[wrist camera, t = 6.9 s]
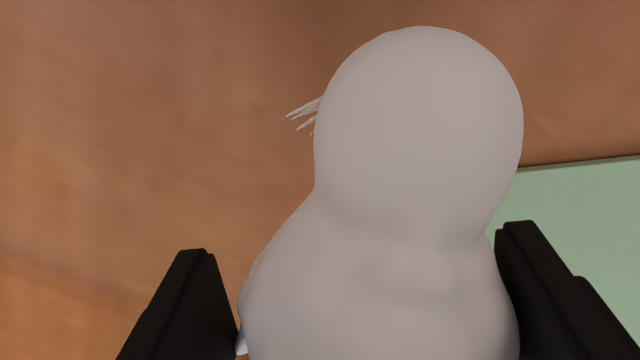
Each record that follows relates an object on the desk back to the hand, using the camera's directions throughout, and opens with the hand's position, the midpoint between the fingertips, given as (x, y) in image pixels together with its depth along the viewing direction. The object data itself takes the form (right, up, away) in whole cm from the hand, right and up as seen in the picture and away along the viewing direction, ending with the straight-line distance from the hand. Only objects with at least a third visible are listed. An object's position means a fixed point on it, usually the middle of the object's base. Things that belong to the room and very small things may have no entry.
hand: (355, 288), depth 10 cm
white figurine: (0, +1, +2) cm, 3 cm away
